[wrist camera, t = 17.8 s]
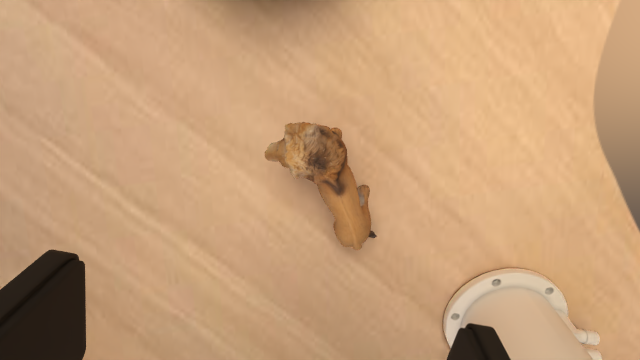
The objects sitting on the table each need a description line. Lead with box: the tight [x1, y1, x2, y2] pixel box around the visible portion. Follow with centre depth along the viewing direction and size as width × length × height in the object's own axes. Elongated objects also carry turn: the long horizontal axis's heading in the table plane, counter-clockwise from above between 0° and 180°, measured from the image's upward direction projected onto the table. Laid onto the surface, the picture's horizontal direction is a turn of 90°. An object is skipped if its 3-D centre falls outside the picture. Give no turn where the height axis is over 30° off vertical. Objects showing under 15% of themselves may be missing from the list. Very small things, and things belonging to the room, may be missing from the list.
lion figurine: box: [265, 122, 377, 250], centre depth 34 cm, size 15×5×9 cm, turn 32°
